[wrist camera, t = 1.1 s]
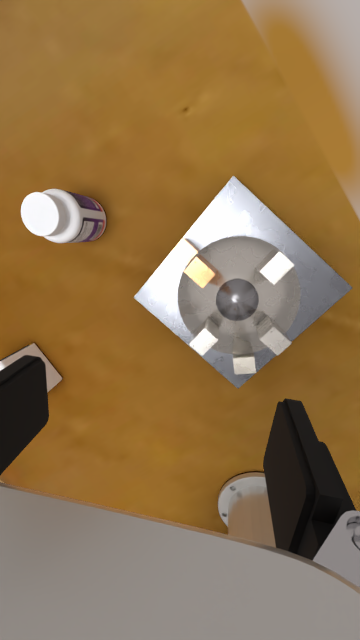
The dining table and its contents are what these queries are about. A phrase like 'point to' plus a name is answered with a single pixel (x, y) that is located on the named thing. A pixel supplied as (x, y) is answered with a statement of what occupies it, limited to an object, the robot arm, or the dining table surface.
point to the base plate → (252, 221)
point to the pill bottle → (63, 216)
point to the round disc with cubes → (237, 295)
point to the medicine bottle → (33, 350)
